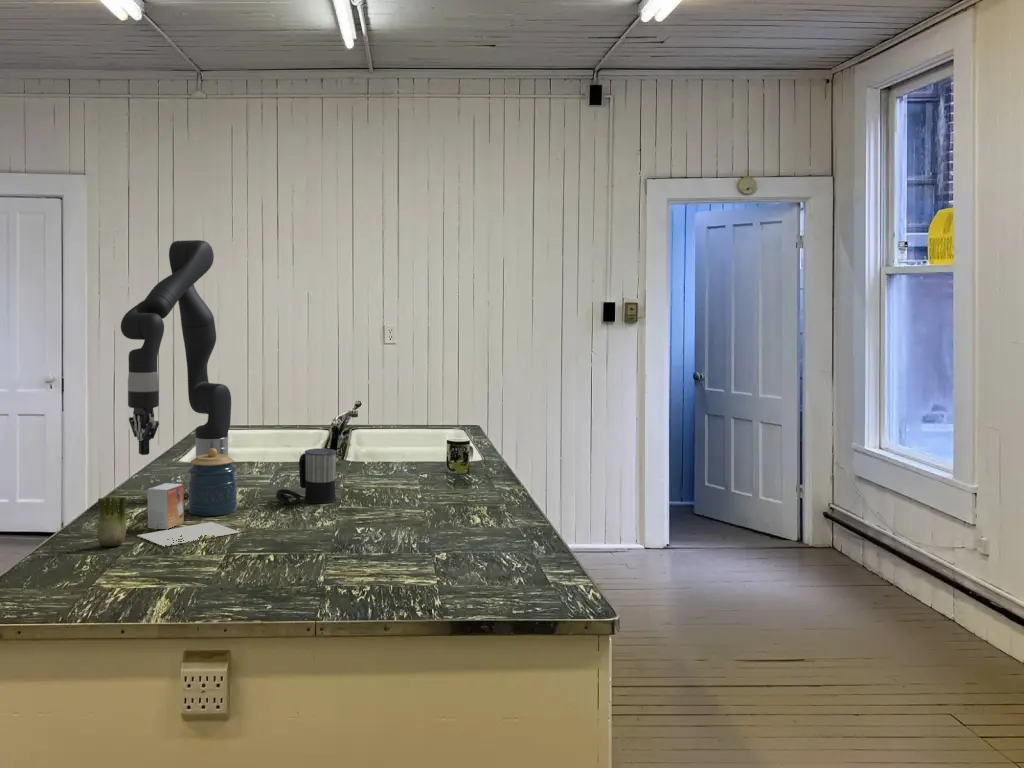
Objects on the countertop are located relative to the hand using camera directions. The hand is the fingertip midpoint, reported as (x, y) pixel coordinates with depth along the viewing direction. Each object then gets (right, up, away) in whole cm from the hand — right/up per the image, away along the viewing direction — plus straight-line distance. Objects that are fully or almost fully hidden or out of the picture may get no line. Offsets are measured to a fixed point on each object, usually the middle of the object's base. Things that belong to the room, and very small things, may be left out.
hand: (144, 454), depth 244 cm
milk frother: (+37, -16, +25) cm, 48 cm away
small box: (+8, -18, -6) cm, 21 cm away
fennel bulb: (+2, -20, -25) cm, 32 cm away
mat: (+17, -19, -14) cm, 29 cm away
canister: (+14, -17, +11) cm, 25 cm away
